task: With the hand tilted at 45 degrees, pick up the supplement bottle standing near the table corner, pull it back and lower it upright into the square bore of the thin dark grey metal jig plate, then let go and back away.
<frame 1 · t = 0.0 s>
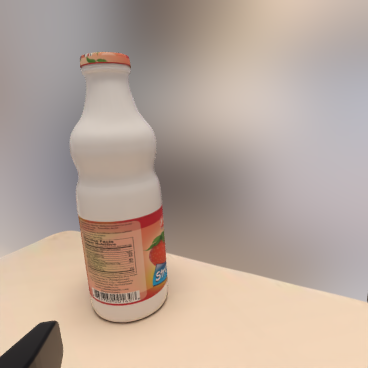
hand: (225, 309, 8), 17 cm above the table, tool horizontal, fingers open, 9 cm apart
fruit juice: (131, 299, 35), on the table
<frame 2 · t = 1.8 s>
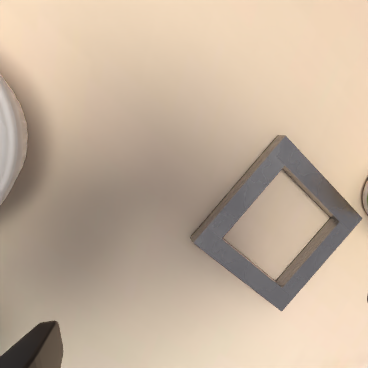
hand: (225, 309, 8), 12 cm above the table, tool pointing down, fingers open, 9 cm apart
jig: (276, 225, 22), on the table
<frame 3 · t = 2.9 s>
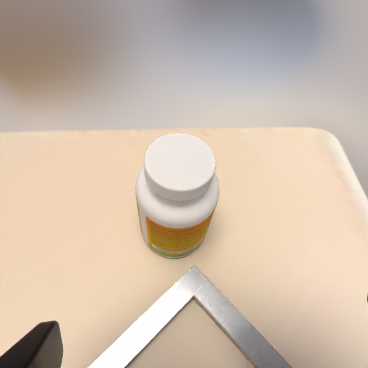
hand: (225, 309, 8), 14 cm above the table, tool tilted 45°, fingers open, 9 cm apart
supplement bottle: (173, 228, 24), on the table
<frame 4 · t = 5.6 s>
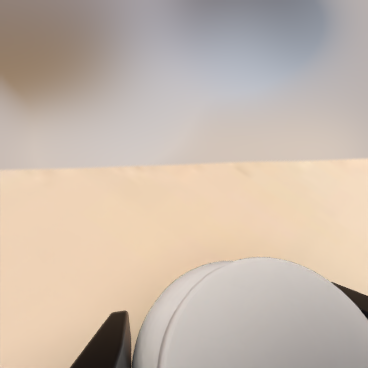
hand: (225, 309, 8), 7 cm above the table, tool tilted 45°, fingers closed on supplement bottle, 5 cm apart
supplement bottle: (203, 362, 13), on the table, touching gripper
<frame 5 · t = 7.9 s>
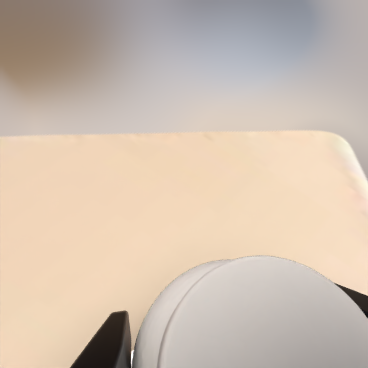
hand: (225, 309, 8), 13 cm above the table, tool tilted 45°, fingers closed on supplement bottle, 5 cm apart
supplement bottle: (203, 361, 13), point 6 cm above the table, touching gripper
when the fingers open (8 cm above the table, at t = 10.0 s): supplement bottle drops 1 cm, resting in jig.
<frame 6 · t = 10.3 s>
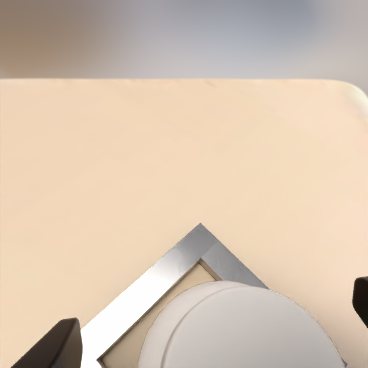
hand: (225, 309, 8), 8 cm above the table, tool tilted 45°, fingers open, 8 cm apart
jig: (199, 361, 14), on the table
supplement bottle: (200, 366, 14), resting in jig
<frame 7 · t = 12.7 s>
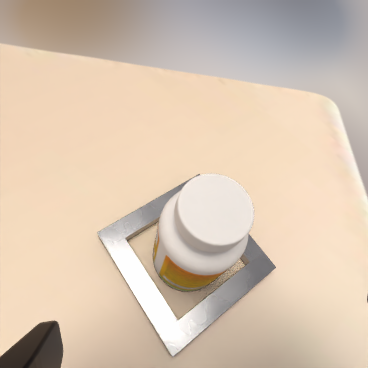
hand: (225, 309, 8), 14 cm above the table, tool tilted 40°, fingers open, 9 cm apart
jig: (186, 253, 22), on the table
supplement bottle: (185, 257, 22), resting in jig
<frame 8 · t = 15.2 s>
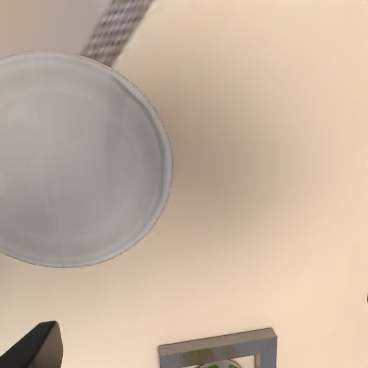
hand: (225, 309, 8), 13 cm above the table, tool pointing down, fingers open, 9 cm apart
ramekin: (83, 155, 19), on the table
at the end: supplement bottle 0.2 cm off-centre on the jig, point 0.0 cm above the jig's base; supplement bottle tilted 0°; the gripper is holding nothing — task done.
